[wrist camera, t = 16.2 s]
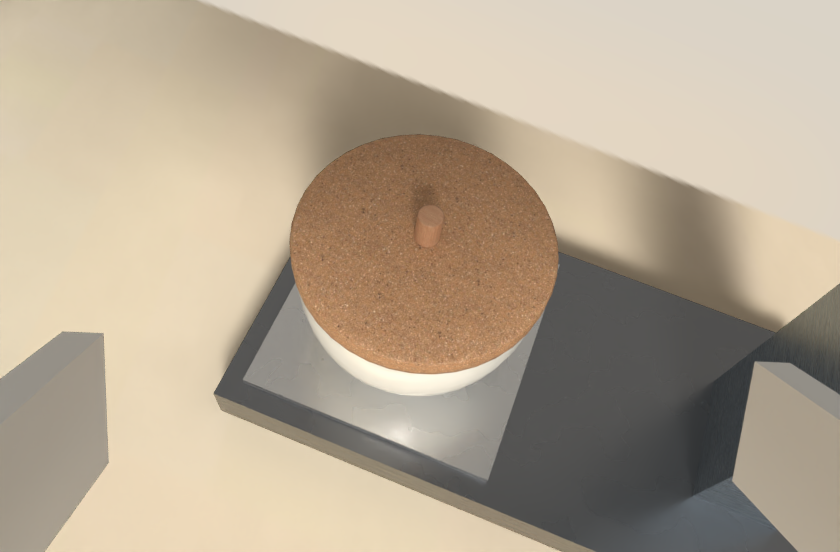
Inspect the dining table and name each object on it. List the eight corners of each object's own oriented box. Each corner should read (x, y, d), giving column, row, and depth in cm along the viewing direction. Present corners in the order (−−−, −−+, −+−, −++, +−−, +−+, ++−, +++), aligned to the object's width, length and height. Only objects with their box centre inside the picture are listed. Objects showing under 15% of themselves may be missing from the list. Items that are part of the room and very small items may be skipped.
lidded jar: (381, 194, 39) (391, 66, 30) (555, 297, 37) (617, 190, 28) (253, 346, 34) (224, 243, 26) (446, 474, 32) (482, 407, 24)
